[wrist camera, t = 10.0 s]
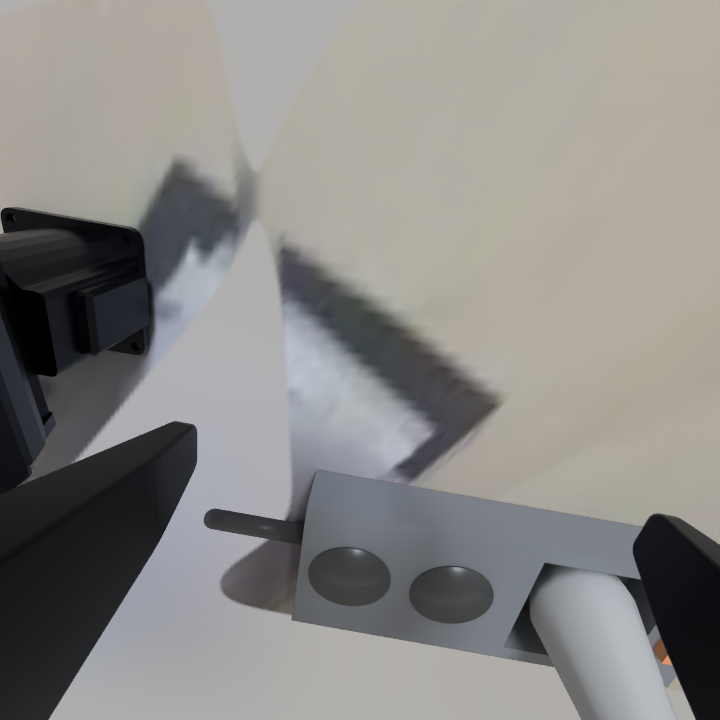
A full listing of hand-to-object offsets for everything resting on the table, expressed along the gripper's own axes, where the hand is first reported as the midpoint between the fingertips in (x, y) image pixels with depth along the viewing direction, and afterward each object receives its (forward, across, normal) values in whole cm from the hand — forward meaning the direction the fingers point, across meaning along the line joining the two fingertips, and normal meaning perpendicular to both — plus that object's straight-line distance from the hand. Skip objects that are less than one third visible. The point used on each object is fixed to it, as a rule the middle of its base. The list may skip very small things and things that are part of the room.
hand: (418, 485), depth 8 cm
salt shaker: (+13, -14, +16) cm, 25 cm away
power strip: (+13, -6, +16) cm, 21 cm away
